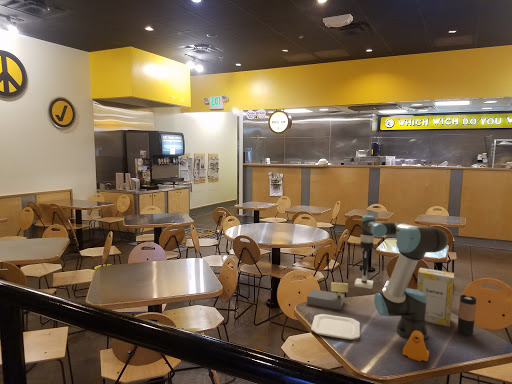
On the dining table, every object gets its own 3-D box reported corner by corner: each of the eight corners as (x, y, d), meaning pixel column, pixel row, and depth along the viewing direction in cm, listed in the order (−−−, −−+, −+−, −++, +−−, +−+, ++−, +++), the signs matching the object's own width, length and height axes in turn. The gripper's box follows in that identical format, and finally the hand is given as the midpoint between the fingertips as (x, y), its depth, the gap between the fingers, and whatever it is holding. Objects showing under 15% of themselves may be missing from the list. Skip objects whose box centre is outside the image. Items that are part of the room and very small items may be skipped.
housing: (340, 310, 222) (341, 302, 222) (306, 304, 229) (307, 296, 229) (343, 302, 235) (344, 294, 235) (311, 296, 242) (312, 289, 242)
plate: (359, 323, 206) (359, 319, 206) (359, 344, 182) (360, 339, 182) (315, 316, 213) (315, 312, 212) (309, 335, 189) (310, 331, 189)
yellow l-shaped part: (330, 297, 228) (331, 283, 227) (329, 291, 238) (330, 278, 237) (347, 298, 227) (348, 284, 226) (345, 293, 237) (346, 279, 236)
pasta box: (414, 318, 214) (418, 272, 211) (416, 312, 223) (419, 267, 220) (449, 326, 205) (454, 277, 203) (449, 319, 215) (454, 273, 212)
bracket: (428, 356, 173) (431, 331, 172) (427, 363, 167) (429, 337, 166) (404, 349, 178) (406, 325, 177) (402, 356, 172) (404, 331, 171)
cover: (372, 288, 215) (373, 269, 214) (354, 286, 219) (355, 267, 217) (373, 283, 225) (374, 264, 224) (356, 280, 229) (357, 262, 228)
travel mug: (464, 337, 193) (468, 300, 191) (453, 330, 200) (456, 295, 198) (476, 336, 195) (480, 299, 193) (464, 329, 202) (468, 294, 201)
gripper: (361, 238, 228) (359, 274, 231) (359, 243, 213) (356, 282, 215) (374, 239, 226) (371, 276, 228) (372, 245, 211) (369, 284, 213)
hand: (364, 279), depth 222 cm, fingers closed on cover, 3 cm apart
